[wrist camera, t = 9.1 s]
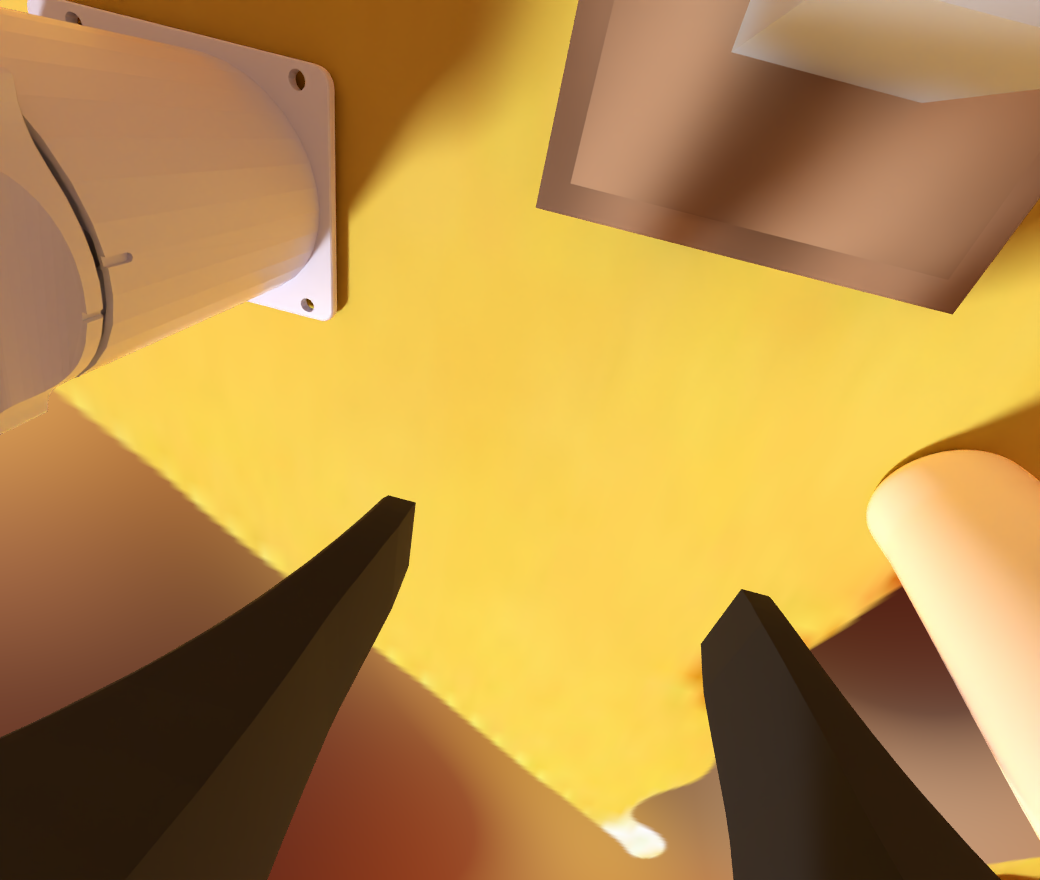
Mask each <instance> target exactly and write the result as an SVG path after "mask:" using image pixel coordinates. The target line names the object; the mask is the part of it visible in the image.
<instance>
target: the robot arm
mask: <svg viewBox="0 0 1040 880" xmlns="http://www.w3.org/2000/svg"><path fill="white" fill-rule="evenodd" d="M27 7H28V13H25V12H20V11H15V10H11V9H6V8H2V7H0V435H1V434H3V433H5V432H7V431H9V430H11V429H13V428H15V427H17V426H19V425H21V424H23V423H25V422H27V421H29V420H32V419H34V418H36V417H38V416H40V415H42V414H44V413H46V412H47V411H48V399H49V396H50V394H51V392H52V391H53V390H54V389H55V388H56V387H58V386H59V385H61V384H63V383H65V382H67V381H69V380H71V379H72V378H75V377H79V376H81V375H83V374H85V373H88V372H90V371H92V370H94V369H97V368H99V367H101V366H103V365H105V364H108V363H110V362H112V361H114V360H117V359H119V358H121V357H123V356H126V355H128V354H130V353H132V352H134V351H137V350H139V349H141V348H143V347H146V346H148V345H150V344H152V343H155V342H157V341H159V340H161V339H163V338H166V337H168V336H170V335H172V334H175V333H177V332H179V331H181V330H184V329H186V328H188V327H190V326H192V325H195V324H197V323H199V322H201V321H204V320H206V319H208V318H210V317H213V316H215V315H217V314H219V313H221V312H224V311H226V310H228V309H230V308H233V307H235V306H237V305H239V304H242V303H244V302H246V301H248V302H252V303H256V304H259V305H263V306H267V307H271V308H275V309H279V310H282V311H286V312H290V313H294V314H298V315H302V316H305V317H309V318H313V319H317V320H321V321H327V320H329V319H331V318H332V317H334V316H335V314H336V312H337V268H336V181H335V93H334V83H333V80H332V78H331V75H330V73H329V72H328V71H327V70H326V69H325V68H324V67H322V66H320V65H318V64H314V63H310V62H306V61H302V60H298V59H294V58H290V57H286V56H283V55H279V54H275V53H271V52H267V51H263V50H259V49H255V48H251V47H247V46H243V45H239V44H235V43H231V42H227V41H223V40H219V39H216V38H212V37H208V36H204V35H200V34H196V33H192V32H188V31H184V30H180V29H176V28H172V27H168V26H164V25H160V24H156V23H153V22H149V21H145V20H141V19H137V18H133V17H129V16H125V15H121V14H117V13H113V12H109V11H105V10H101V9H97V8H93V7H90V6H86V5H82V4H78V3H74V2H70V1H66V0H28V1H27ZM78 17H79V19H80V21H81V23H82V25H79V24H78ZM299 71H301V72H302V74H303V75H304V78H305V87H304V88H303V89H302V90H300V89H299V87H298V86H297V83H296V74H297V73H298V72H299ZM306 299H309V300H311V301H312V303H313V304H314V309H312V308H310V307H309V306H308V304H307V301H306ZM415 504H416V503H415V502H411V501H407V500H404V499H400V498H396V497H392V496H389V495H388V496H386V497H384V498H383V499H382V500H381V501H379V502H378V503H377V504H376V505H375V506H374V507H373V508H372V509H371V510H370V511H369V512H367V513H366V514H365V515H364V516H363V517H362V518H361V519H360V520H358V521H357V522H356V523H355V524H354V525H353V526H351V527H350V528H349V529H348V530H347V531H345V532H344V533H343V534H342V535H341V536H340V537H338V538H337V539H336V540H335V541H333V542H332V543H331V544H330V545H328V546H327V547H326V548H325V549H323V550H322V551H321V552H320V553H318V554H317V555H316V556H315V557H313V558H312V559H311V560H309V561H308V562H307V563H306V564H304V565H303V566H302V567H300V568H299V569H297V570H296V571H295V572H293V573H292V574H291V575H289V576H288V577H286V578H285V579H284V580H282V581H281V582H279V583H278V584H277V585H275V586H274V587H273V588H271V589H270V590H268V591H267V592H266V593H264V594H263V595H261V596H260V597H258V598H257V599H255V600H254V601H252V602H251V603H249V604H248V605H246V606H245V607H243V608H242V609H240V610H239V611H237V612H236V613H234V614H233V615H231V616H229V617H228V618H226V619H225V620H223V621H221V622H220V623H218V624H217V625H215V626H213V627H212V628H210V629H209V630H207V631H205V632H204V633H202V634H200V635H198V636H197V637H195V638H193V639H192V640H190V641H188V642H186V643H185V644H183V645H181V646H179V647H178V648H176V649H174V650H173V651H171V652H169V653H167V654H166V655H164V656H162V657H161V658H158V659H157V660H155V661H153V662H151V663H150V664H148V665H146V666H144V667H142V668H140V669H139V670H137V671H135V672H133V673H131V674H129V675H127V676H125V677H123V678H121V679H119V680H117V681H115V682H113V683H111V684H109V685H107V686H106V687H103V688H101V689H99V690H98V691H96V692H94V693H91V694H90V695H88V696H86V697H84V698H82V699H80V700H78V701H76V702H74V703H72V704H70V705H68V706H66V707H64V708H62V709H60V710H58V711H56V712H54V713H52V714H50V715H48V716H46V717H43V718H41V719H39V720H37V721H35V722H33V723H31V724H29V725H27V726H24V727H22V728H20V729H18V730H16V731H13V732H11V733H9V734H7V735H5V736H3V737H1V738H0V880H267V879H268V876H269V874H270V871H271V869H272V866H273V864H274V861H275V859H276V856H277V854H278V851H279V849H280V846H281V844H282V841H283V839H284V836H285V834H286V831H287V829H288V827H289V824H290V822H291V819H292V817H293V814H294V812H295V809H296V807H297V805H298V802H299V800H300V797H301V795H302V793H303V790H304V788H305V785H306V783H307V781H308V778H309V776H310V774H311V771H312V769H313V766H314V764H315V762H316V759H317V757H318V755H319V752H320V750H321V748H322V745H323V743H324V740H325V738H326V736H327V733H328V731H329V729H330V727H331V725H332V723H333V721H334V719H335V716H336V714H337V712H338V710H339V708H340V706H341V704H342V702H343V700H344V699H345V697H346V695H347V693H348V691H349V689H350V687H351V685H352V683H353V682H354V680H355V678H356V676H357V674H358V672H359V670H360V668H361V666H362V664H363V662H364V661H365V659H366V657H367V655H368V653H369V651H370V649H371V647H372V646H373V644H374V642H375V640H376V638H377V636H378V634H379V632H380V630H381V628H382V626H383V624H384V623H385V621H386V619H387V617H388V615H389V613H390V611H391V609H392V607H393V604H394V602H395V599H396V597H397V594H398V592H399V589H400V587H401V584H402V581H403V579H404V576H405V574H406V571H407V569H408V566H409V557H410V548H411V539H412V531H413V522H414V513H415ZM701 655H702V676H703V689H704V697H705V703H706V709H707V715H708V720H709V726H710V731H711V737H712V742H713V748H714V753H715V758H716V764H717V769H718V774H719V780H720V785H721V790H722V796H723V801H724V806H725V812H726V818H727V825H728V832H729V838H730V847H731V858H732V868H733V878H734V880H1001V879H1000V878H999V877H998V876H997V875H996V874H995V873H994V872H993V871H992V870H991V869H990V868H989V867H988V866H987V865H986V864H985V863H984V861H983V860H982V859H981V858H979V856H978V855H977V854H976V853H975V852H974V851H973V850H972V849H971V848H970V847H969V845H968V844H967V843H966V842H965V841H964V840H963V839H962V838H961V837H960V835H959V834H958V833H957V832H956V831H955V830H954V829H953V828H952V827H951V825H950V824H949V823H948V822H947V821H946V820H945V819H944V818H943V816H942V815H941V814H940V813H939V812H938V811H937V810H936V809H935V808H934V807H933V805H932V804H931V803H930V802H929V801H928V800H927V799H926V797H925V796H924V795H923V794H922V793H921V792H920V791H919V790H918V788H917V787H916V786H915V785H914V783H913V782H912V781H911V780H910V779H909V778H908V777H907V775H906V774H905V773H904V772H903V770H902V769H901V768H900V767H899V766H898V764H897V763H896V762H895V761H894V759H893V758H892V757H891V756H890V755H889V753H888V752H887V751H886V750H885V748H884V747H883V746H882V745H881V743H880V742H879V741H878V740H877V739H876V737H875V736H874V735H873V734H872V732H871V731H870V730H869V728H868V727H867V726H866V725H865V723H864V722H863V721H862V720H861V718H860V717H859V716H858V715H857V713H856V712H855V711H854V709H853V708H852V707H851V705H850V704H849V703H848V701H847V700H846V699H845V697H844V696H843V695H842V694H841V692H840V691H839V689H838V688H837V687H836V685H835V684H834V683H833V681H832V680H831V679H830V677H829V676H828V675H827V673H826V672H825V671H824V669H823V668H822V667H821V665H820V664H819V662H818V661H817V660H816V658H815V657H814V656H813V654H812V653H811V651H810V650H809V649H808V647H807V646H806V645H805V643H804V642H803V640H802V639H801V638H800V636H799V635H798V634H797V632H796V631H795V630H794V628H793V627H792V625H791V624H790V623H789V621H788V620H787V619H786V617H785V616H784V615H783V613H782V612H781V611H780V609H779V608H778V607H777V606H776V604H775V603H774V602H773V600H772V599H771V598H770V597H769V596H765V595H762V594H758V593H754V592H750V591H747V590H743V589H741V591H740V592H739V593H738V595H737V596H736V597H735V599H734V600H733V601H732V603H731V604H730V605H729V607H728V608H727V609H726V611H725V612H724V614H723V615H722V616H721V618H720V619H719V620H718V622H717V623H716V624H715V626H714V627H713V628H712V630H711V631H710V632H709V634H708V635H707V637H706V638H705V639H704V641H703V642H702V643H701Z"/></svg>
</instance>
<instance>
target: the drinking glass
mask: <svg viewBox="0 0 1040 880" xmlns="http://www.w3.org/2000/svg"><path fill="white" fill-rule="evenodd" d="M866 520H867V525H868V528H869V531H870V533H871V535H872V537H873V539H874V540H875V542H876V543H877V545H878V546H879V548H880V549H881V551H882V552H883V554H884V555H885V556H886V558H887V559H888V561H889V562H890V564H891V566H892V567H893V569H894V571H895V573H896V575H897V576H898V578H899V580H900V582H901V584H902V586H903V587H904V589H905V591H906V593H907V595H908V597H909V598H910V600H911V602H912V604H913V606H914V608H915V609H916V611H917V613H918V615H919V617H920V619H921V621H922V622H923V624H924V626H925V628H926V630H927V632H928V634H929V635H930V637H931V639H932V641H933V643H934V645H935V647H936V648H937V650H938V652H939V654H940V656H941V658H942V660H943V662H944V663H945V665H946V667H947V669H948V671H949V673H950V675H951V676H952V678H953V680H954V682H955V684H956V686H957V688H958V690H959V692H960V694H961V695H962V697H963V699H964V701H965V703H966V705H967V706H968V709H969V710H970V712H971V714H972V716H973V718H974V720H975V722H976V724H977V726H978V728H979V729H980V731H981V733H982V735H983V737H984V738H985V741H986V742H987V744H988V746H989V748H990V750H991V752H992V754H993V756H994V758H995V760H996V761H997V763H998V765H999V767H1000V769H1001V771H1002V773H1003V775H1004V776H1005V778H1006V780H1007V782H1008V784H1009V786H1010V788H1011V789H1012V791H1013V793H1014V795H1015V797H1016V799H1017V800H1018V802H1019V804H1020V806H1021V808H1022V810H1023V812H1024V813H1025V815H1026V817H1027V819H1028V821H1029V822H1030V824H1031V826H1032V828H1033V829H1034V831H1035V833H1036V835H1037V837H1038V838H1039V840H1040V481H1039V480H1038V479H1037V478H1036V477H1034V476H1033V475H1032V474H1030V473H1029V472H1028V471H1026V470H1025V469H1024V468H1022V467H1021V466H1020V465H1018V464H1017V463H1015V462H1013V461H1011V460H1010V459H1008V458H1005V457H1003V456H1000V455H997V454H994V453H990V452H985V451H979V450H951V451H944V452H939V453H935V454H931V455H927V456H924V457H921V458H919V459H916V460H914V461H912V462H909V463H907V464H906V465H904V466H902V467H900V468H899V469H897V470H896V471H894V472H893V473H891V474H890V475H889V476H888V477H886V478H885V479H884V480H883V481H882V482H881V483H880V485H879V486H878V487H877V488H876V490H875V491H874V492H873V494H872V496H871V498H870V500H869V503H868V506H867V512H866Z"/></svg>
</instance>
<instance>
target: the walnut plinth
mask: <svg viewBox="0 0 1040 880" xmlns="http://www.w3.org/2000/svg"><path fill="white" fill-rule="evenodd" d="M749 2H750V0H579V1H578V6H577V11H576V16H575V20H574V25H573V30H572V35H571V40H570V45H569V50H568V54H567V59H566V64H565V69H564V74H563V79H562V83H561V88H560V93H559V98H558V103H557V108H556V112H555V117H554V122H553V127H552V132H551V137H550V141H549V146H548V151H547V156H546V161H545V166H544V170H543V175H542V180H541V185H540V190H539V195H538V199H537V204H536V208H539V209H543V210H547V211H551V212H555V213H559V214H563V215H567V216H571V217H575V218H578V219H582V220H586V221H590V222H594V223H598V224H602V225H606V226H610V227H614V228H617V229H621V230H625V231H629V232H633V233H637V234H641V235H645V236H649V237H653V238H657V239H660V240H664V241H668V242H672V243H676V244H680V245H684V246H688V247H692V248H696V249H699V250H703V251H707V252H711V253H715V254H719V255H723V256H727V257H731V258H735V259H738V260H742V261H746V262H750V263H754V264H758V265H762V266H766V267H770V268H774V269H777V270H781V271H785V272H789V273H793V274H797V275H801V276H805V277H809V278H813V279H816V280H820V281H824V282H828V283H832V284H836V285H840V286H844V287H848V288H852V289H855V290H859V291H863V292H867V293H871V294H875V295H879V296H883V297H887V298H891V299H895V300H898V301H902V302H906V303H910V304H914V305H918V306H922V307H926V308H930V309H934V310H937V311H941V312H945V313H949V314H953V313H954V312H955V310H956V309H957V308H958V306H959V305H960V304H961V302H962V301H963V300H964V298H965V297H966V296H967V294H968V293H969V292H970V290H971V289H972V288H973V286H974V285H975V284H976V282H977V281H978V280H979V278H980V277H981V276H982V274H983V273H984V272H985V270H986V269H987V268H988V266H989V265H990V264H991V262H992V261H993V260H994V258H995V257H996V256H997V254H998V253H999V252H1000V250H1001V249H1002V248H1003V246H1004V245H1005V244H1006V242H1007V241H1008V240H1009V238H1010V237H1011V236H1012V234H1013V233H1014V232H1015V230H1016V229H1017V228H1018V226H1019V225H1020V224H1021V222H1022V221H1023V220H1024V218H1025V217H1026V216H1027V214H1028V213H1029V212H1030V210H1031V209H1032V208H1033V206H1034V205H1035V204H1036V202H1037V201H1038V200H1039V198H1040V89H1036V90H1027V91H1019V92H1011V93H1002V94H994V95H985V96H977V97H968V98H960V99H952V100H943V101H935V102H926V103H920V102H916V101H912V100H908V99H905V98H901V97H897V96H893V95H890V94H886V93H882V92H878V91H875V90H871V89H867V88H864V87H860V86H856V85H852V84H849V83H845V82H841V81H837V80H834V79H830V78H826V77H823V76H819V75H815V74H811V73H808V72H804V71H800V70H796V69H793V68H789V67H785V66H782V65H778V64H774V63H770V62H767V61H763V60H759V59H755V58H752V57H748V56H744V55H740V54H737V53H733V52H731V51H732V48H733V46H734V43H735V40H736V38H737V35H738V32H739V30H740V27H741V24H742V21H743V19H744V16H745V13H746V11H747V8H748V5H749Z"/></svg>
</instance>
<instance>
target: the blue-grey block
mask: <svg viewBox="0 0 1040 880" xmlns="http://www.w3.org/2000/svg"><path fill="white" fill-rule="evenodd" d="M731 52H733V53H737V54H740V55H744V56H748V57H752V58H755V59H759V60H763V61H767V62H770V63H774V64H778V65H782V66H785V67H789V68H793V69H796V70H800V71H804V72H808V73H811V74H815V75H819V76H823V77H826V78H830V79H834V80H837V81H841V82H845V83H849V84H852V85H856V86H860V87H864V88H867V89H871V90H875V91H878V92H882V93H886V94H890V95H893V96H897V97H901V98H905V99H908V100H912V101H916V102H920V103H926V102H935V101H943V100H952V99H960V98H968V97H977V96H985V95H994V94H1002V93H1011V92H1019V91H1027V90H1036V89H1040V0H750V2H749V5H748V8H747V11H746V13H745V16H744V19H743V21H742V24H741V27H740V30H739V32H738V35H737V38H736V40H735V43H734V46H733V48H732V51H731Z"/></svg>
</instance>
